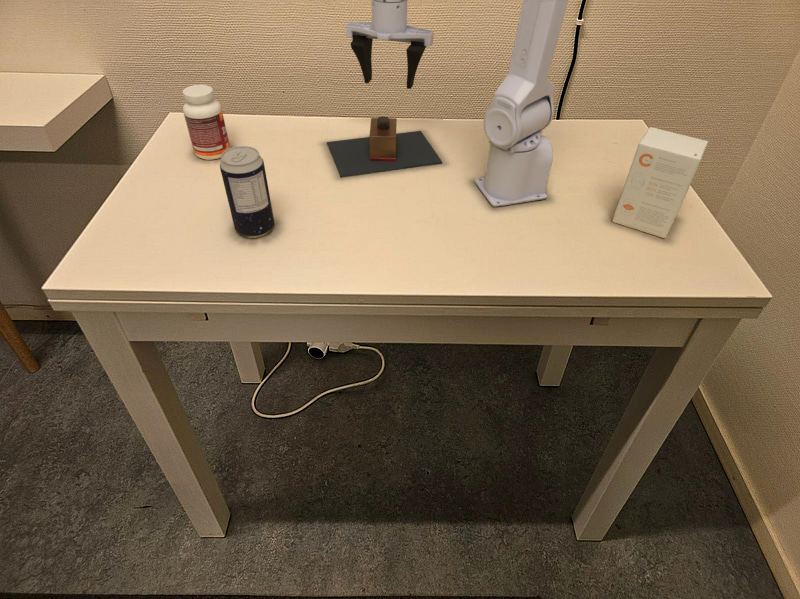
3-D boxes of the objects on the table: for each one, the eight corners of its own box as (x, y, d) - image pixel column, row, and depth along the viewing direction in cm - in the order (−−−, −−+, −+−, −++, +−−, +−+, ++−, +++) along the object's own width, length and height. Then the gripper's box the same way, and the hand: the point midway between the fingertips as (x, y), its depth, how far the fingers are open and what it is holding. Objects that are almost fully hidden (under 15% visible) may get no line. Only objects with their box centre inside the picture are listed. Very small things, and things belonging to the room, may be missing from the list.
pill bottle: (236, 155, 93) (222, 92, 86) (201, 164, 91) (184, 101, 83) (223, 140, 97) (209, 79, 89) (190, 149, 94) (172, 87, 87)
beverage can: (282, 222, 79) (270, 148, 71) (263, 244, 75) (247, 169, 67) (248, 215, 80) (232, 141, 72) (228, 236, 76) (208, 161, 68)
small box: (674, 219, 82) (710, 140, 73) (665, 240, 78) (702, 159, 69) (621, 202, 85) (650, 125, 76) (610, 222, 81) (638, 142, 72)
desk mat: (420, 132, 101) (420, 130, 101) (442, 163, 93) (442, 161, 92) (326, 144, 97) (326, 141, 97) (340, 177, 89) (340, 175, 88)
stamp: (396, 142, 97) (396, 110, 93) (395, 161, 92) (396, 128, 88) (371, 141, 97) (370, 110, 93) (369, 161, 92) (369, 128, 88)
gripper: (337, 0, 83) (342, 87, 92) (428, 9, 80) (423, 98, 90) (352, -12, 88) (355, 72, 97) (438, -3, 85) (432, 82, 95)
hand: (389, 83), depth 94 cm, fingers open, 7 cm apart
